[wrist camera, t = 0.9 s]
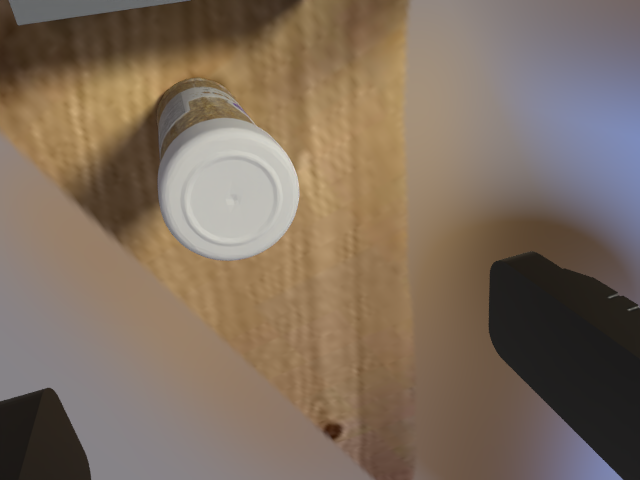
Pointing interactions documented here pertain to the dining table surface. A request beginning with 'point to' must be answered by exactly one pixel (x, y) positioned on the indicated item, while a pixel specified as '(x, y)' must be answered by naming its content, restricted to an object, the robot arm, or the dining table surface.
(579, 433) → the robot arm
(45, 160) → the dining table surface
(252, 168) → the sprinkles bottle
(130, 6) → the well block
